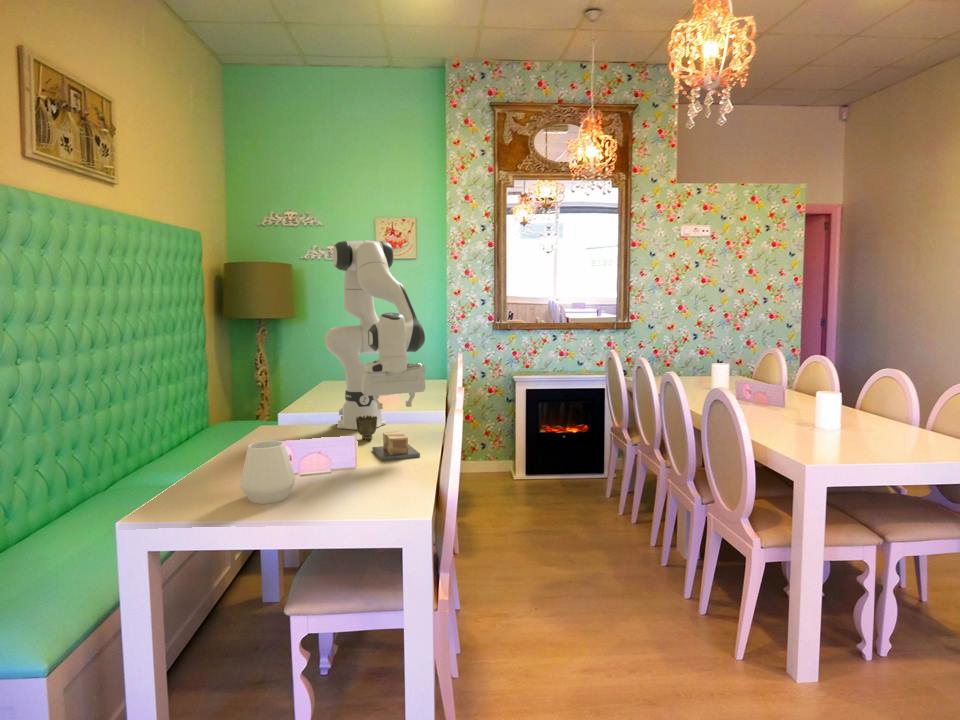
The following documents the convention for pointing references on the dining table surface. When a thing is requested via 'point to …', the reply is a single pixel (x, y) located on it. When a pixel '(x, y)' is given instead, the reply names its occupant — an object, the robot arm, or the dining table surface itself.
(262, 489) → the cream vase
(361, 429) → the cup
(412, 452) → the slate base plate
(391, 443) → the block
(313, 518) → the dining table surface
